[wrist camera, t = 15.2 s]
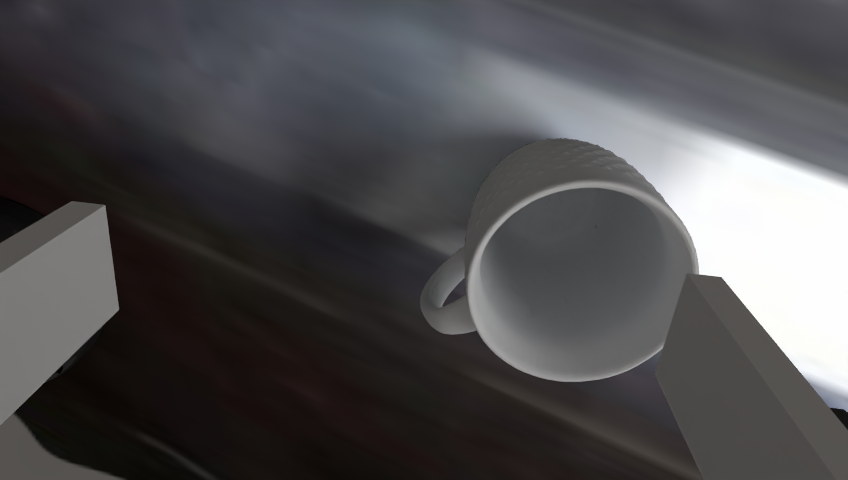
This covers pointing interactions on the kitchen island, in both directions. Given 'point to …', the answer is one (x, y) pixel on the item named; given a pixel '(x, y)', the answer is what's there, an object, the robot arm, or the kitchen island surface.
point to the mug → (566, 264)
